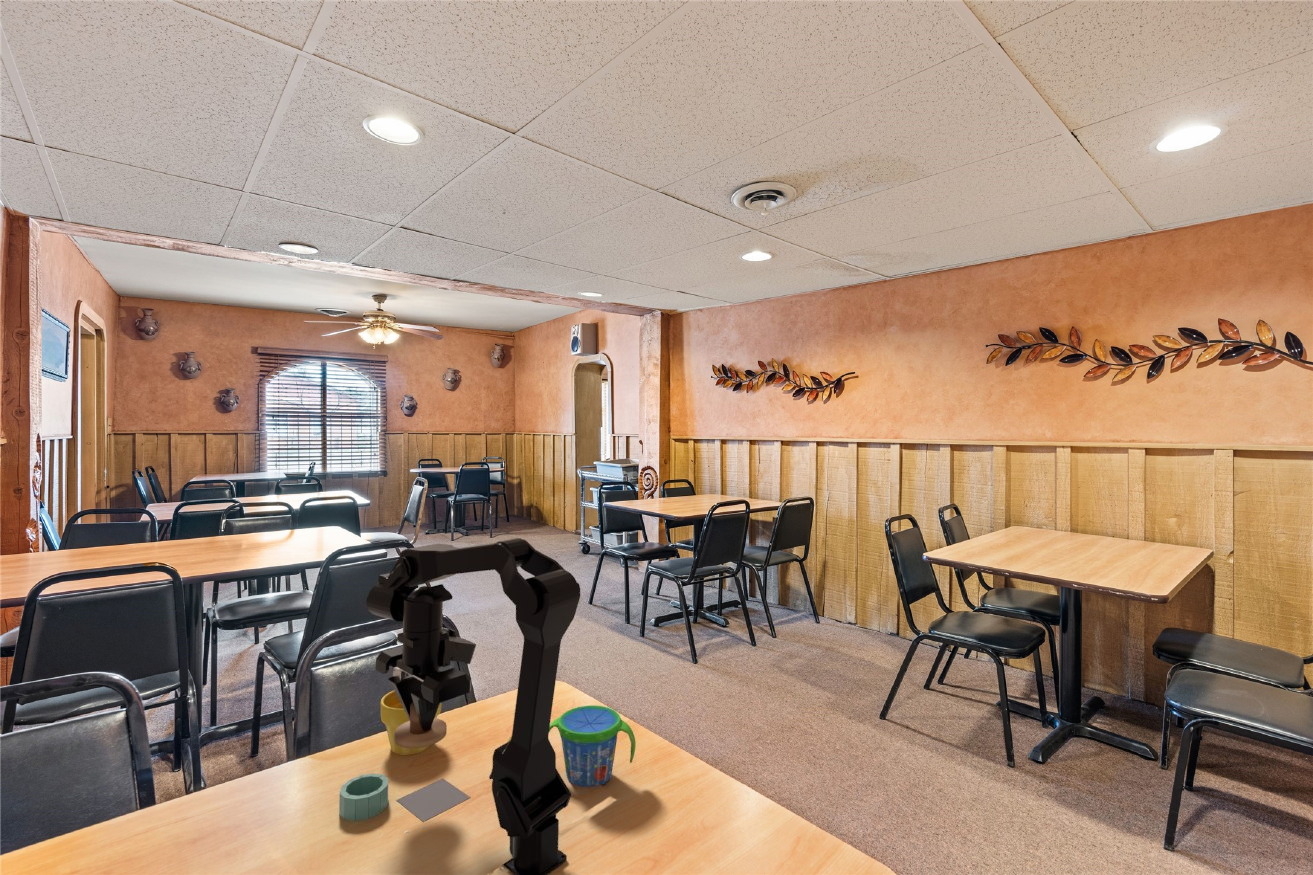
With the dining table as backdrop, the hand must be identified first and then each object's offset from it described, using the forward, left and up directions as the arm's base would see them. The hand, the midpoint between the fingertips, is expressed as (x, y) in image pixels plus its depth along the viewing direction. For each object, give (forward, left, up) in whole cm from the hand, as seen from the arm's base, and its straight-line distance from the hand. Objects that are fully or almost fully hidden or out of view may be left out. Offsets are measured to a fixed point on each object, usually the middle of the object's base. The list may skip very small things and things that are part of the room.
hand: (420, 726), depth 95 cm
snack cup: (-14, -23, -13) cm, 29 cm away
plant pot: (+17, -8, -13) cm, 22 cm away
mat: (-1, -2, -12) cm, 12 cm away
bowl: (+5, +6, -12) cm, 15 cm away
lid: (0, 0, -1) cm, 1 cm away
